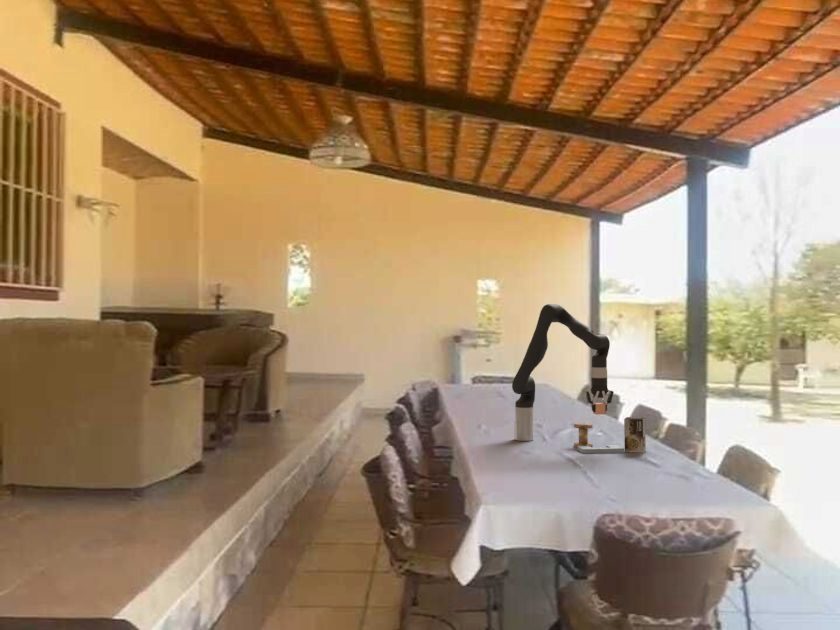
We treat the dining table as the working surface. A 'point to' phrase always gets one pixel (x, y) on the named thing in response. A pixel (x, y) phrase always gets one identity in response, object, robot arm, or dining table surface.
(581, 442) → the knob
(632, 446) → the coffee box
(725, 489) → the dining table surface
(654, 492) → the dining table surface
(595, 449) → the notch board
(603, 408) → the orange block
